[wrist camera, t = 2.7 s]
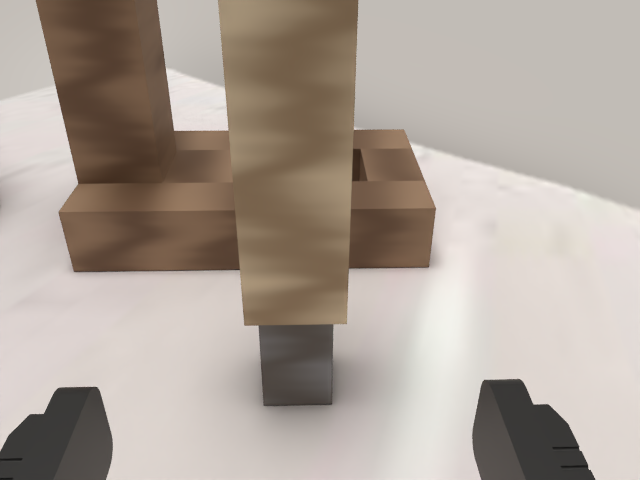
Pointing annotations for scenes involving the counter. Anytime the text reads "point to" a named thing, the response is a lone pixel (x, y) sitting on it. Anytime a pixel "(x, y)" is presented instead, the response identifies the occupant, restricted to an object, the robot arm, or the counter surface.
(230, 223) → the brown wooden stand
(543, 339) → the counter surface
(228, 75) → the beige wooden post
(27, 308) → the counter surface
